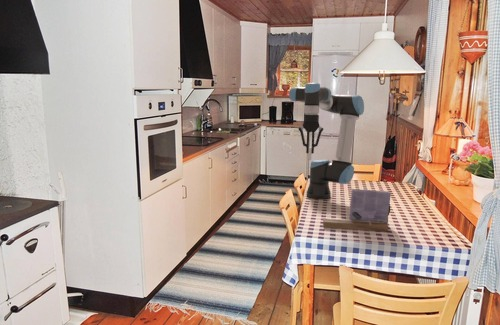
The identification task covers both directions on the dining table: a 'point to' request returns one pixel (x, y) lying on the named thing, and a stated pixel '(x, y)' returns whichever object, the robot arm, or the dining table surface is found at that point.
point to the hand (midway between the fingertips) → (309, 159)
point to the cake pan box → (370, 205)
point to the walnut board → (355, 225)
